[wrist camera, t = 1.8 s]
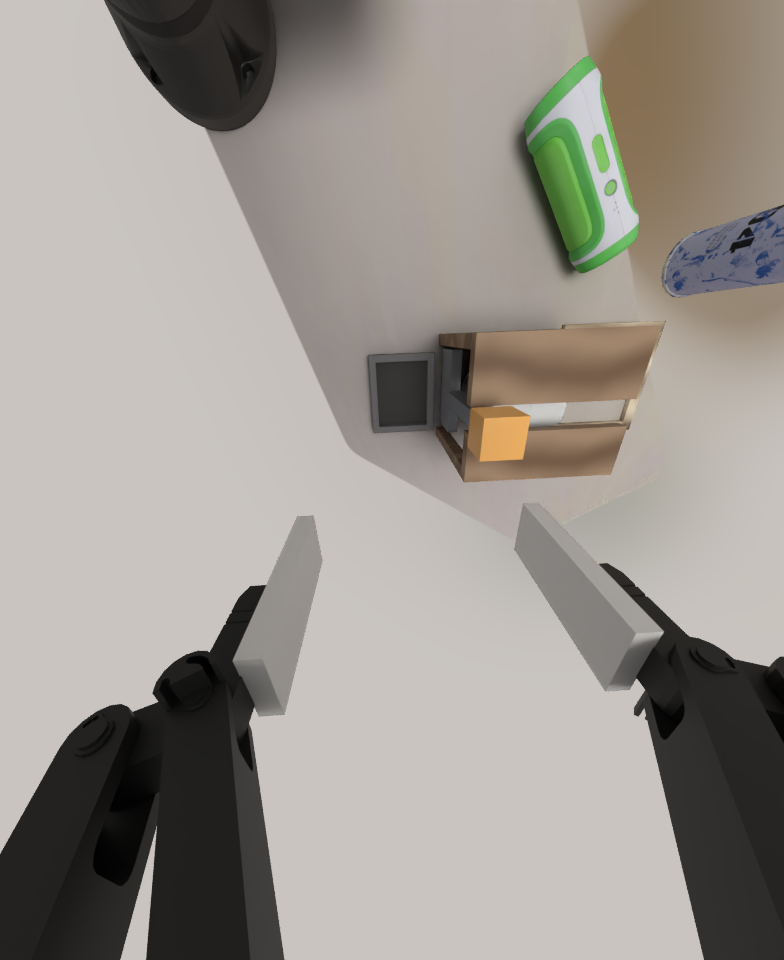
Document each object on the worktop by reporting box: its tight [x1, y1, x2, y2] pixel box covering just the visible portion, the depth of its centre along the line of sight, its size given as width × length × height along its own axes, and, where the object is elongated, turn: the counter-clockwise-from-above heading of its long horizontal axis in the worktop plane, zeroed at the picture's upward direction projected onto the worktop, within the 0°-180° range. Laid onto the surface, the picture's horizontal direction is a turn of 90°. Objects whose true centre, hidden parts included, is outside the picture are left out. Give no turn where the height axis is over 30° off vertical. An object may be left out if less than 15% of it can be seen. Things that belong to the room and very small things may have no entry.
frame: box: [556, 321, 666, 430], centre depth 48 cm, size 17×16×1 cm
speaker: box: [525, 56, 639, 273], centre depth 34 cm, size 18×7×8 cm, turn 37°
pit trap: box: [368, 352, 435, 433], centre depth 47 cm, size 12×10×2 cm
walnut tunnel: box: [436, 325, 662, 482], centre depth 39 cm, size 16×18×18 cm
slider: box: [440, 348, 531, 462], centre depth 36 cm, size 12×4×24 cm, turn 2°
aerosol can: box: [662, 205, 784, 297], centre depth 32 cm, size 8×8×20 cm
